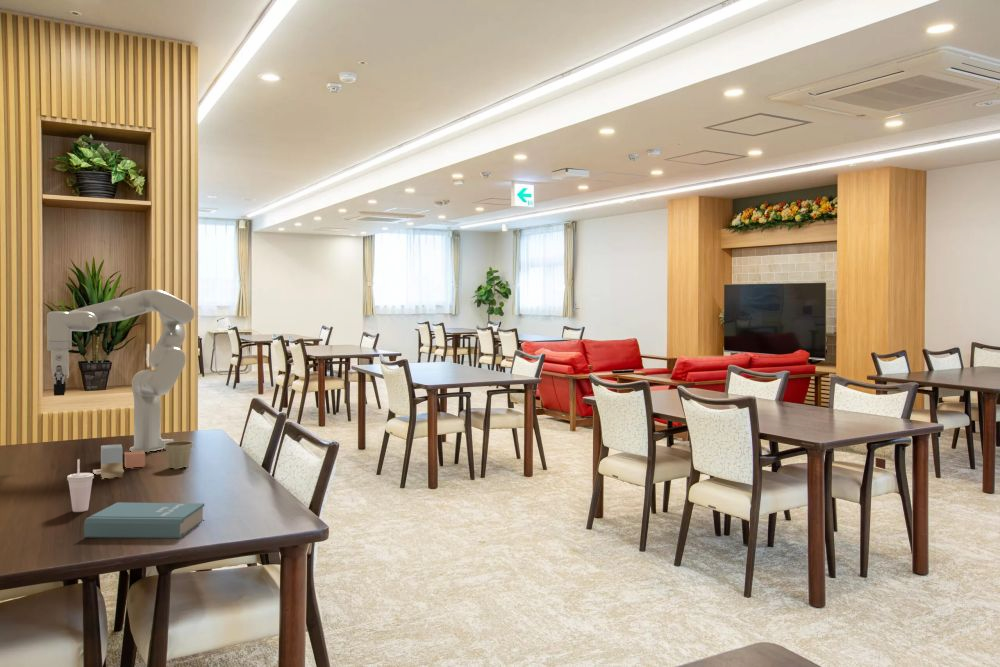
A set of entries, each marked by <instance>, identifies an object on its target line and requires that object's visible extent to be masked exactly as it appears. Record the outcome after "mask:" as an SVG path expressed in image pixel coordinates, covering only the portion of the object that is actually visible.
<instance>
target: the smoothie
mask: <svg viewBox="0 0 1000 667" xmlns="http://www.w3.org/2000/svg"><path fill="white" fill-rule="evenodd" d="M80 463H81V461H80V458H78V459H77V464H76V465H77V470H76V471H77V472H76V473H71V474H68V475H67V476H66V477H67V478H66V480H67V481H68V486H69V487H68V488H69V494H70V501H71V509H72V512H73V513H82V512H86V511H88V510H89V505H90V500H91V492H92V485H93V479H94V478H95V475H94V474H93V472H92V473H91V472H81V470H80V469H81V467H80V466H81V464H80Z"/></svg>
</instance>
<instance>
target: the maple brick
mask: <svg viewBox="0 0 1000 667" xmlns="http://www.w3.org/2000/svg"><path fill="white" fill-rule="evenodd" d="M123 465H124V462H123V461H122V462H119V463H106V464H102V463H101V462H100V469H101V474H100V478H101V477H102V478H101V480H105V479H104V478H108V479H115V478H114V477H119V478H123V477H124V476H123V474H124V472H123V470H124V468H123Z"/></svg>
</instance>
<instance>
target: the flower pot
mask: <svg viewBox="0 0 1000 667" xmlns="http://www.w3.org/2000/svg"><path fill="white" fill-rule="evenodd" d="M193 444H194V442H193V441H189V440H178V441H175V440H174V442H168V443H165V444H164V446H165V449H164V450H165V452H166V456H167V463H168V464H167V465H168V468H169V467H170V468H178V467H184V466H188V467H189V463H190V456H191V449H192V447H193ZM170 468H169V469H170Z"/></svg>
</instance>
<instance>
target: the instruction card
mask: <svg viewBox="0 0 1000 667" xmlns="http://www.w3.org/2000/svg"><path fill="white" fill-rule="evenodd" d="M92 473H94V474H96V475H101V468H99V469H92ZM123 473H125V470H124V469H123Z"/></svg>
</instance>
